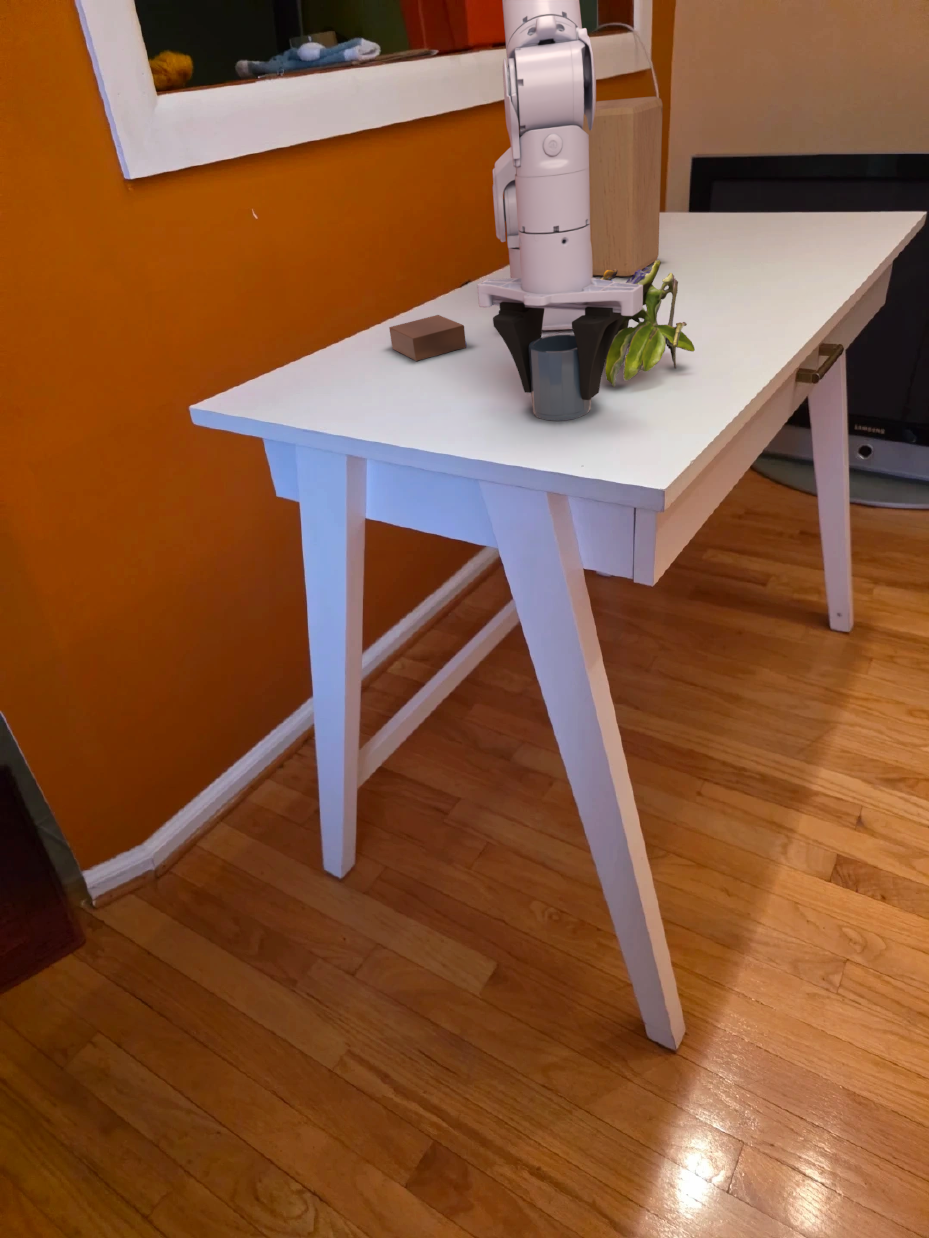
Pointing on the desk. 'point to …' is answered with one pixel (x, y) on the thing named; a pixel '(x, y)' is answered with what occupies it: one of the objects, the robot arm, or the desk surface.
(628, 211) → the wooden block
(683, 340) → the passion flower
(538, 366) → the cup
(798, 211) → the desk surface
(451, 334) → the block
